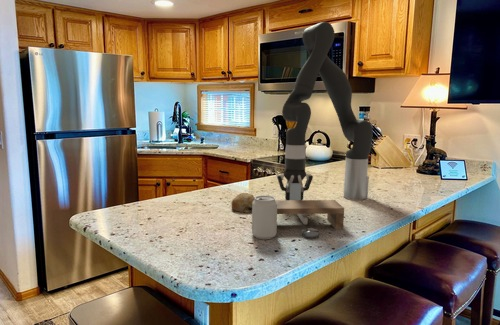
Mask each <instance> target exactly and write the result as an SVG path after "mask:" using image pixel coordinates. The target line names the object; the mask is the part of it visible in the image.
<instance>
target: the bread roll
mask: <svg viewBox="0 0 500 325" xmlns="http://www.w3.org/2000/svg"><path fill="white" fill-rule="evenodd" d="M255 197H256V196H254V195H253V194H252V193H249V192H242V193H239V194H238V195H236V196H235V197H234V198H233V199H232V200H231V203H230V204H231V208H232V210H234V211H236V212H240V213H249V212H250V213H252V202H253V201H254V200H255V199H254V198H255Z"/></svg>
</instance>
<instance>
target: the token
mask: <svg viewBox="0 0 500 325" xmlns="http://www.w3.org/2000/svg"><path fill="white" fill-rule="evenodd" d="M301 236H302V238H305V239H309V240H310V239H311V240H315V239H318V238H319V236H320V230H319V229H317V228H312V227H309V228H303V229H302V232H301Z"/></svg>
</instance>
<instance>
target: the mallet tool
mask: <svg viewBox="0 0 500 325" xmlns="http://www.w3.org/2000/svg"><path fill="white" fill-rule="evenodd" d="M289 192H290V200H301V183H292V184H291V183H290V191H289ZM296 215H297V216H298V218H299V220H300V221H301V222H302V223H303V225H308V218H309V217H307V214H296Z"/></svg>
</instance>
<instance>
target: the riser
mask: <svg viewBox="0 0 500 325" xmlns="http://www.w3.org/2000/svg"><path fill="white" fill-rule="evenodd" d="M275 201H276V202H277V215H297V214H305V215H322V214H323V215H327V216H326V217H327V218H326V219H327V220H326V221H328V222H329V223H330V224H331V226H333V228H334V229H335V230H344V223H345V222H344V219H345V207H343V206H342V204H340V203H339V202H338V201H336V199H303V200H286V199H281V200H277V199H275Z"/></svg>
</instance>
